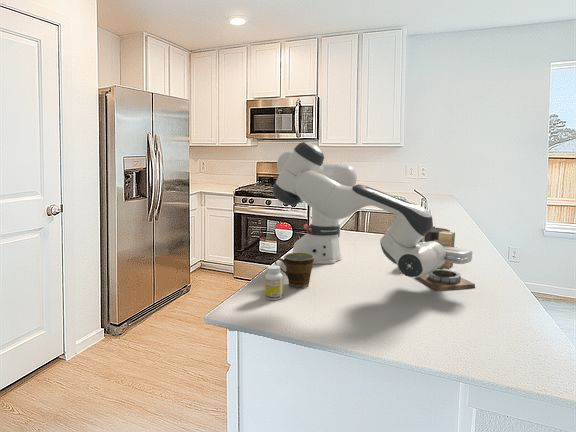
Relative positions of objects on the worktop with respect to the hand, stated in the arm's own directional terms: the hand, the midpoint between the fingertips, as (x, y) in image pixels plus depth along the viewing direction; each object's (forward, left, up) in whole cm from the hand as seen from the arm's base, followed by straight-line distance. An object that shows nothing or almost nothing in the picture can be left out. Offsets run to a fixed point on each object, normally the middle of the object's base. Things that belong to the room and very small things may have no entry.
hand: (446, 248), depth 149 cm
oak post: (-1, -1, -6) cm, 7 cm away
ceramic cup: (-52, +8, -12) cm, 54 cm away
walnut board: (-1, 0, -12) cm, 12 cm away
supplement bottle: (-61, -2, -12) cm, 62 cm away
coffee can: (+8, +21, -12) cm, 25 cm away
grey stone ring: (-1, 0, -11) cm, 11 cm away
